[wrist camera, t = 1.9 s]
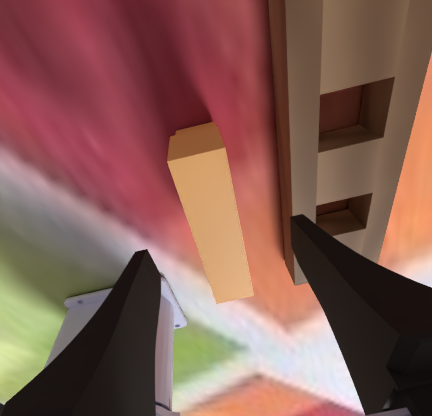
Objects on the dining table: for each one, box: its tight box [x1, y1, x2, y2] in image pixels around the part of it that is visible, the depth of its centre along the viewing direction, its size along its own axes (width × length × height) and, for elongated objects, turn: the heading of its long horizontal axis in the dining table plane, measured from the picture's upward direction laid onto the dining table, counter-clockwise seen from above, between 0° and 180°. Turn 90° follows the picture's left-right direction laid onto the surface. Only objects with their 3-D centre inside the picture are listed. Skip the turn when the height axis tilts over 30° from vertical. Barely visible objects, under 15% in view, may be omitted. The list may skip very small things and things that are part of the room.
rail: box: [268, 0, 432, 286], centre depth 17 cm, size 7×20×2 cm, turn 12°
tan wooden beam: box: [167, 122, 254, 304], centre depth 15 cm, size 2×10×6 cm, turn 12°
